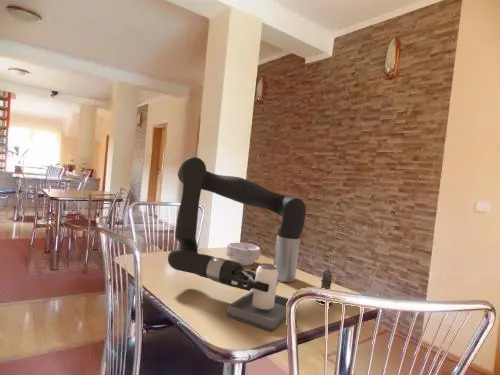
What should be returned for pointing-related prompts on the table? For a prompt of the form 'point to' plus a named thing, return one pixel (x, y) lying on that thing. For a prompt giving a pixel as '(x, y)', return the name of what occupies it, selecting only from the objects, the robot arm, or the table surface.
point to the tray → (258, 312)
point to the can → (268, 276)
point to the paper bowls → (243, 253)
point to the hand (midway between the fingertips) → (272, 285)
